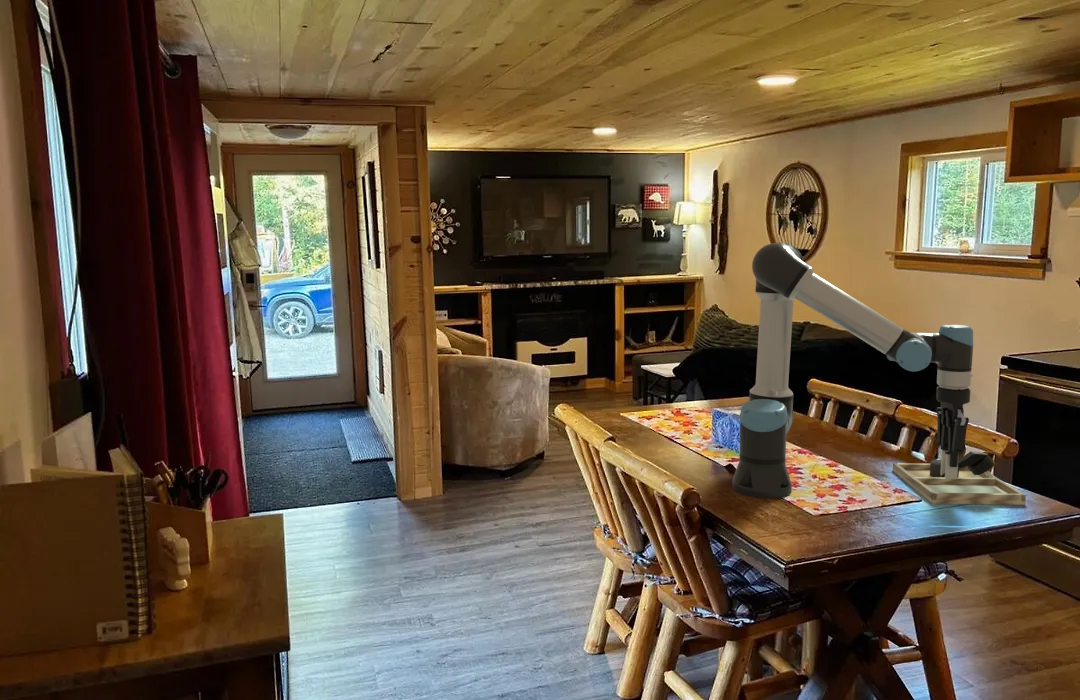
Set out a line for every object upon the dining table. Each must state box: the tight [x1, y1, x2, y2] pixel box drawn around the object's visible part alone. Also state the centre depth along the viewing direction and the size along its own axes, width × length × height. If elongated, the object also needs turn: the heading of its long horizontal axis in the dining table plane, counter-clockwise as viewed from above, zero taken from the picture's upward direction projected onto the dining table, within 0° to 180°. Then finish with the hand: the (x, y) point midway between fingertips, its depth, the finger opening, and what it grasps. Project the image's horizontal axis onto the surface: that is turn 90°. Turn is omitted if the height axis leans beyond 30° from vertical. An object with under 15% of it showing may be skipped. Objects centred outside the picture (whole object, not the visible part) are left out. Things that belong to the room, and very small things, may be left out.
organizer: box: [892, 462, 1027, 506], centre depth 205 cm, size 22×27×2 cm
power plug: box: [941, 450, 995, 478], centre depth 197 cm, size 6×8×12 cm
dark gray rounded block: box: [929, 459, 959, 478], centre depth 211 cm, size 7×7×4 cm
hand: (948, 476), depth 198 cm, fingers closed on power plug, 2 cm apart
